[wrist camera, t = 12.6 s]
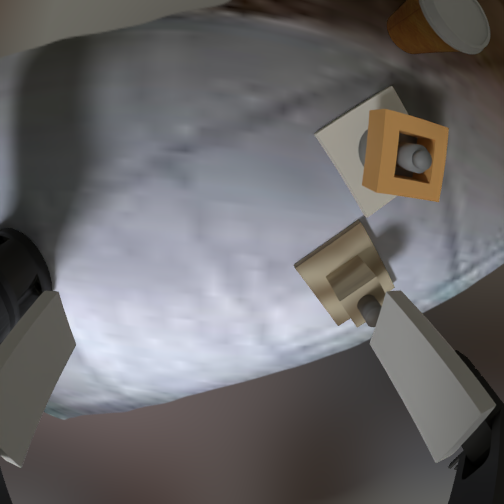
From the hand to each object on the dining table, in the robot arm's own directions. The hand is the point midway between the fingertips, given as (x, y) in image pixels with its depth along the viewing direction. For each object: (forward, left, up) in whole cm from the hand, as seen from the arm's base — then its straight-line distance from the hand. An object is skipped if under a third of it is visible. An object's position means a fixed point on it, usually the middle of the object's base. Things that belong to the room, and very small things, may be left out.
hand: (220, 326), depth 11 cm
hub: (+6, +18, -24) cm, 31 cm away
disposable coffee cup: (-5, +32, -24) cm, 40 cm away
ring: (+6, +18, -19) cm, 27 cm away
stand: (+18, +6, -24) cm, 31 cm away
